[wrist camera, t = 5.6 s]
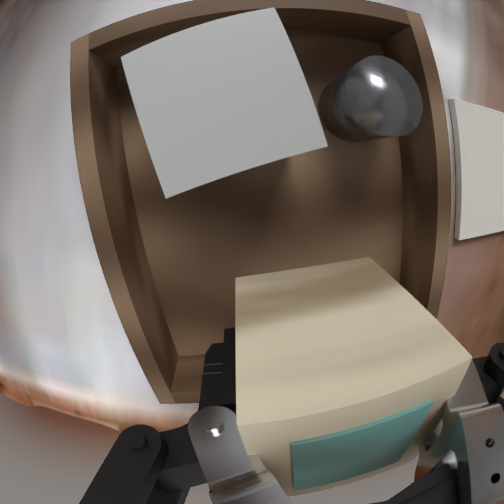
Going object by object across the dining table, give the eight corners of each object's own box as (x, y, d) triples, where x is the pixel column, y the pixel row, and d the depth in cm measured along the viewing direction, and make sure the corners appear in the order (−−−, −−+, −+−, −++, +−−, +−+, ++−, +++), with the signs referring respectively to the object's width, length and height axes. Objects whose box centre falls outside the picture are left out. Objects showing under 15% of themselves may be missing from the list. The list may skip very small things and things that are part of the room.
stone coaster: (448, 99, 13) (453, 98, 12) (514, 118, 13) (518, 118, 12) (454, 237, 16) (459, 240, 15) (515, 225, 16) (520, 226, 15)
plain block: (165, 94, 12) (120, 56, 6) (258, 63, 11) (274, 7, 6) (195, 181, 13) (165, 198, 8) (289, 151, 13) (327, 146, 7)
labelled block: (235, 277, 10) (236, 429, 4) (369, 256, 10) (474, 359, 4) (254, 376, 11) (265, 501, 6) (360, 356, 11) (414, 461, 6)
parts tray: (104, 62, 11) (71, 42, 7) (386, 36, 11) (420, 14, 7) (170, 362, 18) (160, 403, 14) (400, 322, 18) (427, 353, 14)
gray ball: (308, 87, 12) (336, 61, 8) (363, 75, 12) (402, 52, 8) (334, 150, 13) (372, 145, 9) (387, 133, 13) (432, 127, 9)
